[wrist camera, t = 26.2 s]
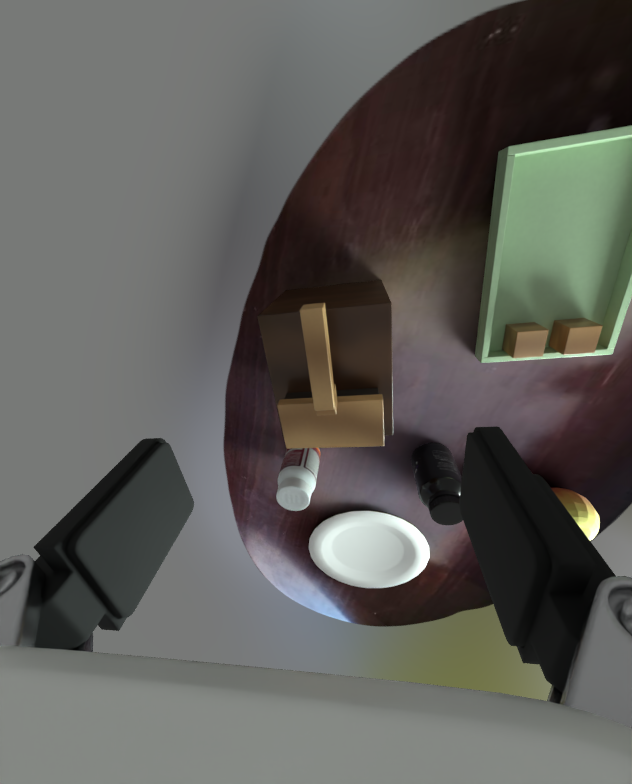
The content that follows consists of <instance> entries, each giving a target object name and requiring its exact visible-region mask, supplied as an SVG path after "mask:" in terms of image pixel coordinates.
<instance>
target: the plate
mask: <svg viewBox="0 0 632 784" xmlns="http://www.w3.org/2000/svg"><path fill="white" fill-rule="evenodd" d="M309 552H310V555H311V558H312V560H313V561H314V562H315V564H316V565H317V567H318V568H320V569H321V570H322V571H323V572H324V573H326V574H327V575H328V576H330V577H332V578H334V579H336V580H338V581H340V582H343V583H346V584H349V585H352V586H358V587H364V588H385V587H392V586H396V585H399V584H402V583H405V582H408V581H409V580H411V579H412V578H414V577H416V576H417V575H419V573H420V572H421V571H422V570H423V569H424V568H425V567H426V564H427V562H428V559H429V546H428V543H427V541H426V539H425V537H424V535H423V534H422V533H421V532H420V531H419V530H418V529H417V528H416V527H415V526H414V525H412V524H411V523H409V522H407V521H406V520H404V519H402V518H400V517H397V516H394V515H391V514H388V513H385V512H378V511H372V510H357V511H348V512H344V513H340V514H336V515H334V516H332V517H330V518H328V519H326V520H324V521H322V522H321V523H320V524H319V525H318V526H317V527H316V528H315V529H314V531H313V533H312V534H311V536H310V539H309Z"/></svg>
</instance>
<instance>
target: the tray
mask: <svg viewBox="0 0 632 784" xmlns="http://www.w3.org/2000/svg"><path fill="white" fill-rule="evenodd" d="M631 296H632V125H631V126H625V127H619V128H613V129H607V130H601V131H595V132H590V133H584V134H578V135H572V136H566V137H560V138H554V139H548V140H543V141H537V142H531V143H525V144H519V145H513V146H509V147H507V148H505V149H503V150H501V151H499V152H498V160H497V169H496V178H495V186H494V195H493V203H492V212H491V221H490V229H489V238H488V246H487V255H486V264H485V272H484V281H483V289H482V298H481V307H480V315H479V324H478V332H477V341H476V350H475V357H476V358H477V359H478V360H479V361H480V362H481V363H487V362H502V361H517V360H532V359H547V358H562V357H577V356H592V355H608V354H612V353H613V350H614V348H615V345H616V342H617V339H618V336H619V333H620V330H621V327H622V324H623V321H624V318H625V315H626V312H627V309H628V306H629V303H630V300H631ZM576 318H586V319H588V320H591V321H593V322H596V323H598V324H601V325H603V327H602V330H601V333H600V337H599V340H598V343H597V346H596V350H595V353H585V354H571V355H562V354H561V353H559V352H558V351H556V350H555V349H553V348H551V347H550V346H549V341H550V336H551V332H552V328H553V323H554V320H564V319H576ZM528 322H535V323H537V324H539V325H541V326H543V327H545V328H546V329H548V330H549V331H548V336H547V340H546V345H545V349H544V354H543V356H541V357H527V358H512V357H511V356H510V355H508V354H507V353H506V352H505V351H504V350H503V349H502V346H503V340H504V333H505V327H506V324H516V323H528Z"/></svg>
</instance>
